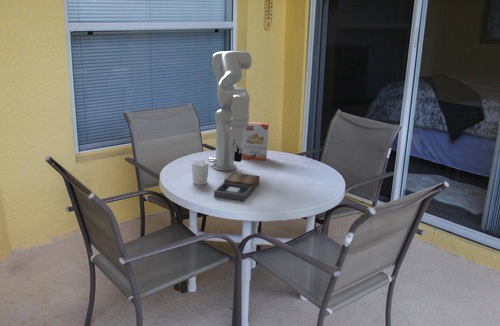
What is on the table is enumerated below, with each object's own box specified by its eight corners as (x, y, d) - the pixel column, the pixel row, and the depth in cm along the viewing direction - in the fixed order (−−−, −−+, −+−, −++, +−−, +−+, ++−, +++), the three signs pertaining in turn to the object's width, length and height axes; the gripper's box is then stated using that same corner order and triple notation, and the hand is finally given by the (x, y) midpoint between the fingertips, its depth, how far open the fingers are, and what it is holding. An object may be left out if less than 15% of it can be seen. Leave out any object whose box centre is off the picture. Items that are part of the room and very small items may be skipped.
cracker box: (241, 159, 276) (243, 123, 270) (241, 156, 282) (243, 121, 275) (266, 160, 276) (268, 124, 270) (266, 157, 282) (268, 122, 276)
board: (224, 187, 232) (224, 179, 231) (232, 179, 243) (232, 172, 242) (252, 191, 228) (252, 183, 227) (259, 183, 240) (259, 176, 238)
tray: (214, 197, 220) (214, 190, 219) (223, 188, 231) (223, 182, 231) (244, 201, 216) (244, 195, 215) (252, 192, 228) (252, 186, 227)
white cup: (195, 186, 232) (195, 166, 229) (189, 181, 239) (189, 161, 236) (210, 184, 236) (211, 164, 233) (204, 179, 242) (204, 159, 239)
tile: (229, 186, 225) (229, 191, 226) (226, 190, 221) (226, 195, 222) (240, 188, 224) (240, 193, 225) (236, 191, 220) (236, 196, 220)
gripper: (236, 117, 226) (235, 155, 233) (226, 125, 213) (224, 165, 219) (252, 119, 225) (250, 157, 231) (242, 127, 211) (240, 167, 217)
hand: (237, 161), depth 225 cm, fingers closed
